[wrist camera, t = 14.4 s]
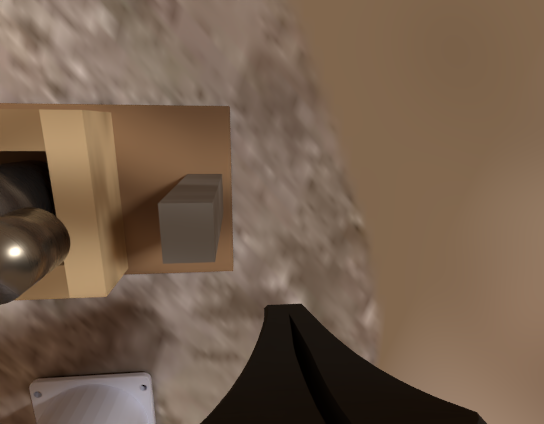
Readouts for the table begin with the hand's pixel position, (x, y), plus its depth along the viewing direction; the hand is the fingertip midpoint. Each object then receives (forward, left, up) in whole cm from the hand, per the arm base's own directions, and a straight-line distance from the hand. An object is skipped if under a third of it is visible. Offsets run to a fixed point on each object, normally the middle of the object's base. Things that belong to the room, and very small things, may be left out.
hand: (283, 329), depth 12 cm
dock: (+3, +11, -10) cm, 15 cm away
